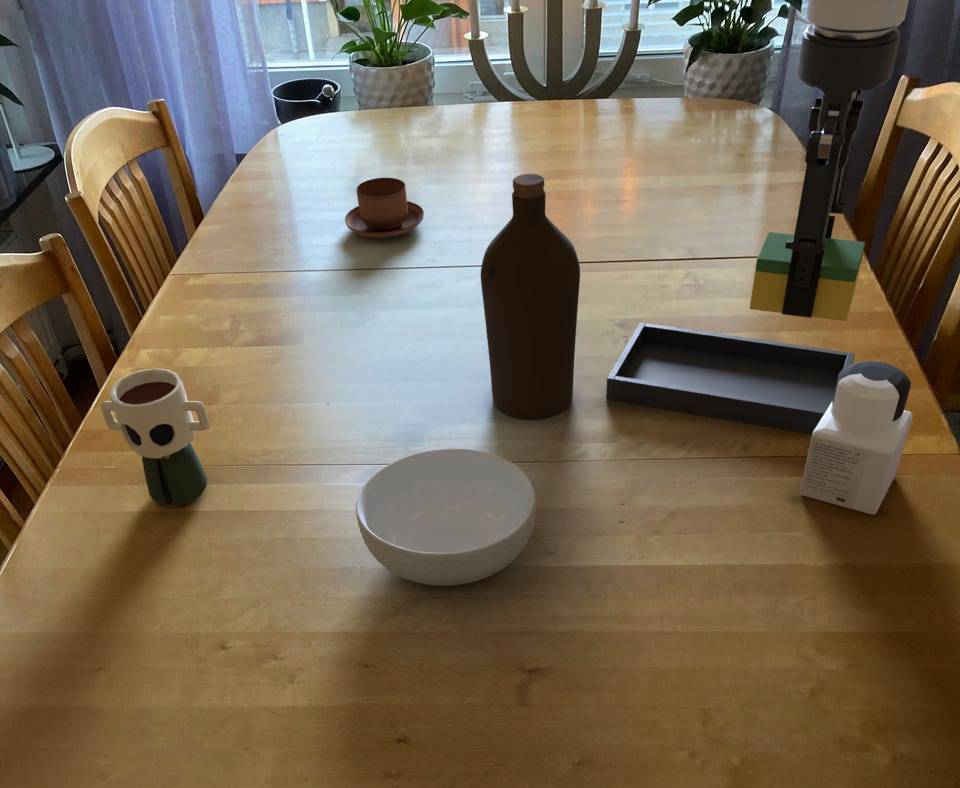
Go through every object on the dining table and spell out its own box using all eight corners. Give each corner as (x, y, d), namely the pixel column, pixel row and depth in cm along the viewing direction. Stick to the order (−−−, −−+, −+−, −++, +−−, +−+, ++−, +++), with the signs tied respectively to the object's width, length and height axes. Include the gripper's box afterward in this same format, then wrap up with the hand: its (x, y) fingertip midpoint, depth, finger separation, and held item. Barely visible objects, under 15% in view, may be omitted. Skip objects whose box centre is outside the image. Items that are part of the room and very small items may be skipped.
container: (821, 456, 107) (847, 345, 97) (895, 475, 103) (929, 363, 94) (798, 496, 102) (822, 383, 93) (874, 517, 99) (907, 403, 90)
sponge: (854, 292, 97) (865, 241, 94) (846, 321, 94) (857, 269, 90) (760, 281, 100) (768, 231, 96) (749, 309, 96) (756, 258, 93)
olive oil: (557, 430, 112) (558, 206, 95) (472, 412, 116) (457, 193, 98) (591, 383, 119) (597, 165, 101) (509, 367, 123) (501, 154, 105)
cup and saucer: (333, 226, 155) (326, 185, 150) (399, 205, 159) (395, 165, 154) (370, 252, 147) (364, 210, 143) (439, 230, 152) (436, 188, 147)
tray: (850, 374, 117) (855, 353, 115) (832, 437, 109) (837, 415, 107) (638, 342, 125) (639, 322, 123) (605, 399, 116) (606, 378, 114)
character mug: (121, 512, 106) (79, 406, 97) (142, 472, 111) (105, 367, 102) (220, 513, 105) (188, 406, 96) (237, 472, 110) (208, 367, 101)
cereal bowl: (559, 520, 101) (560, 463, 96) (500, 630, 91) (497, 572, 86) (408, 489, 106) (401, 432, 101) (335, 589, 96) (323, 532, 91)
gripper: (821, -8, 87) (779, 251, 104) (785, 59, 75) (744, 340, 92) (912, -5, 85) (854, 259, 102) (890, 64, 73) (828, 351, 89)
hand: (802, 297), depth 97 cm, fingers closed on sponge, 6 cm apart
